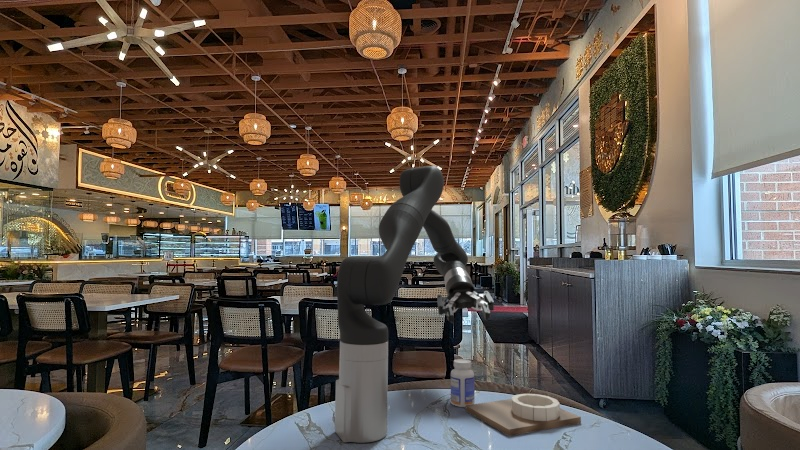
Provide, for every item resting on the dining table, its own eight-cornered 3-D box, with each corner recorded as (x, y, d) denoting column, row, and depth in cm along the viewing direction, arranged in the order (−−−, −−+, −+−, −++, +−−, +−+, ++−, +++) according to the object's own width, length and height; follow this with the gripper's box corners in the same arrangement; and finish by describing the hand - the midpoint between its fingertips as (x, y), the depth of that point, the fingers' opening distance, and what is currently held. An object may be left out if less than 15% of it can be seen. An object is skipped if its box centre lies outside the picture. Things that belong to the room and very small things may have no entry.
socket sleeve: (532, 423, 87) (532, 410, 87) (502, 408, 96) (502, 396, 96) (569, 417, 91) (569, 404, 91) (537, 403, 99) (537, 391, 100)
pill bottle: (473, 400, 105) (473, 358, 105) (475, 408, 99) (475, 363, 100) (450, 399, 105) (450, 357, 106) (450, 407, 100) (450, 362, 101)
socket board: (509, 436, 84) (509, 429, 84) (465, 411, 97) (465, 405, 97) (580, 423, 91) (580, 416, 91) (531, 401, 105) (531, 396, 105)
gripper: (433, 276, 123) (440, 307, 108) (484, 271, 124) (498, 303, 109) (434, 299, 126) (441, 333, 111) (484, 295, 126) (498, 328, 111)
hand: (469, 318), depth 110 cm, fingers open, 8 cm apart
